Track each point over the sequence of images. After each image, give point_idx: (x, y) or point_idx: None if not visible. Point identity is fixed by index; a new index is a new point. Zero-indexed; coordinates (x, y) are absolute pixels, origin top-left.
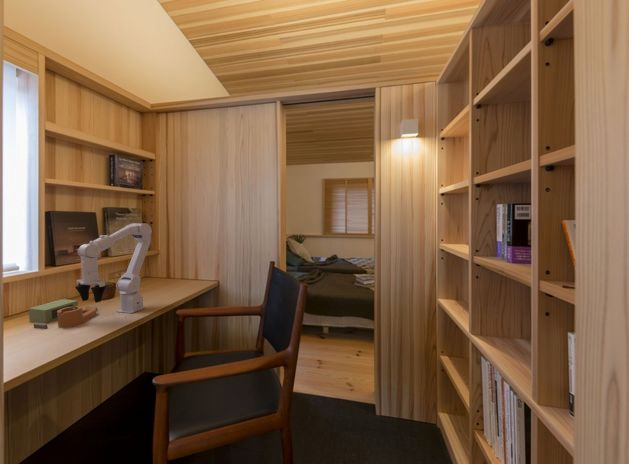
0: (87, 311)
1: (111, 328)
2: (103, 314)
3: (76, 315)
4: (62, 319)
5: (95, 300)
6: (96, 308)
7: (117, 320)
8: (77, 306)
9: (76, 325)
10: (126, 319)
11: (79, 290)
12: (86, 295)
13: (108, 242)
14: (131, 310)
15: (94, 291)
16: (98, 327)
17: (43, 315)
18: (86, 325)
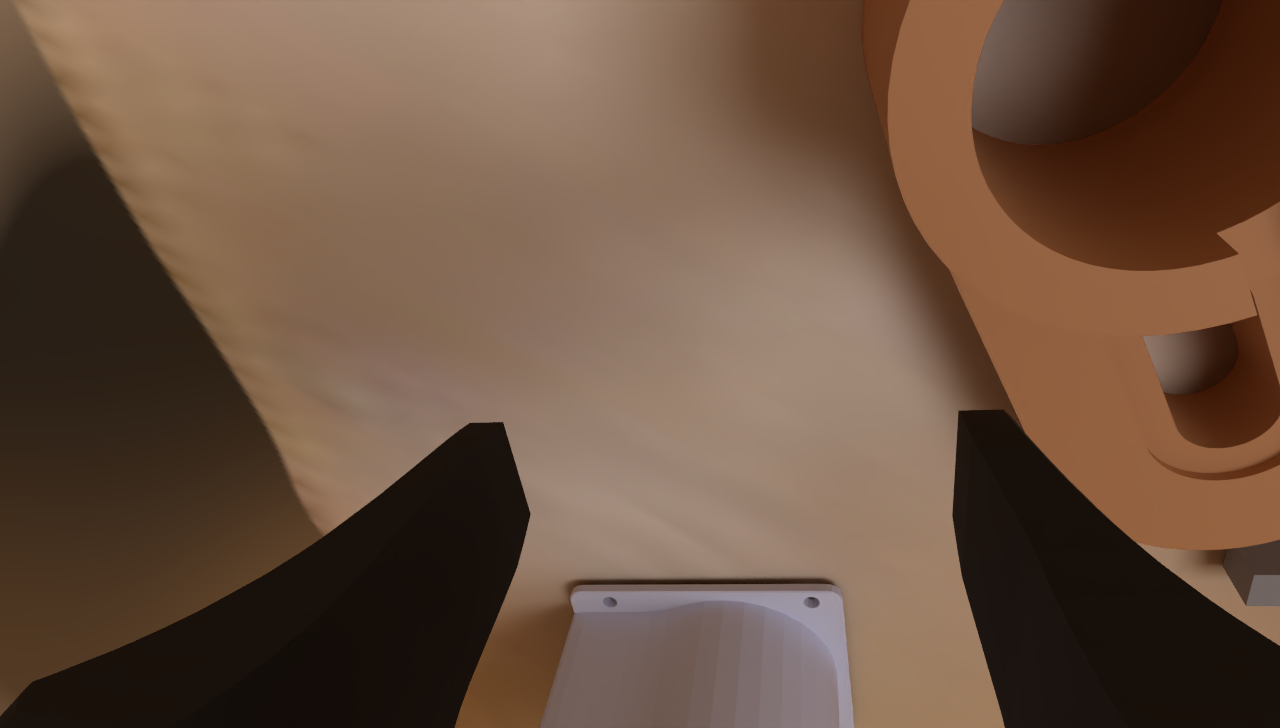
0: (1168, 418)
1: (218, 169)
2: (931, 480)
3: (877, 63)
4: None
5: (444, 448)
6: (1243, 585)
7: (478, 385)
8: (1195, 302)
9: (863, 8)
10: (415, 440)
11: (1134, 659)
12: (988, 596)
13: None
14: (597, 624)
15: (186, 639)
16: (415, 117)
17: None
18: (689, 91)
